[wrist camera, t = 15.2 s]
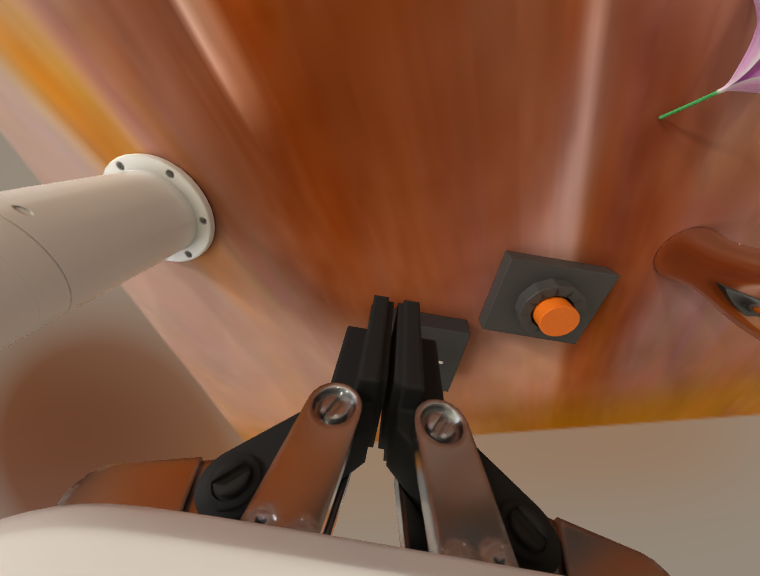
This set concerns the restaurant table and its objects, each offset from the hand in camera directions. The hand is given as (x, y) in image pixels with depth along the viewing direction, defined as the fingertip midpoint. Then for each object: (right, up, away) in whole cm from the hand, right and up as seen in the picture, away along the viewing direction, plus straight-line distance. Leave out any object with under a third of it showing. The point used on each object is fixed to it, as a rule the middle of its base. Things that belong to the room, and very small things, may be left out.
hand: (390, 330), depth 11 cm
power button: (+19, -1, +21) cm, 29 cm away
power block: (+20, +1, +24) cm, 31 cm away
